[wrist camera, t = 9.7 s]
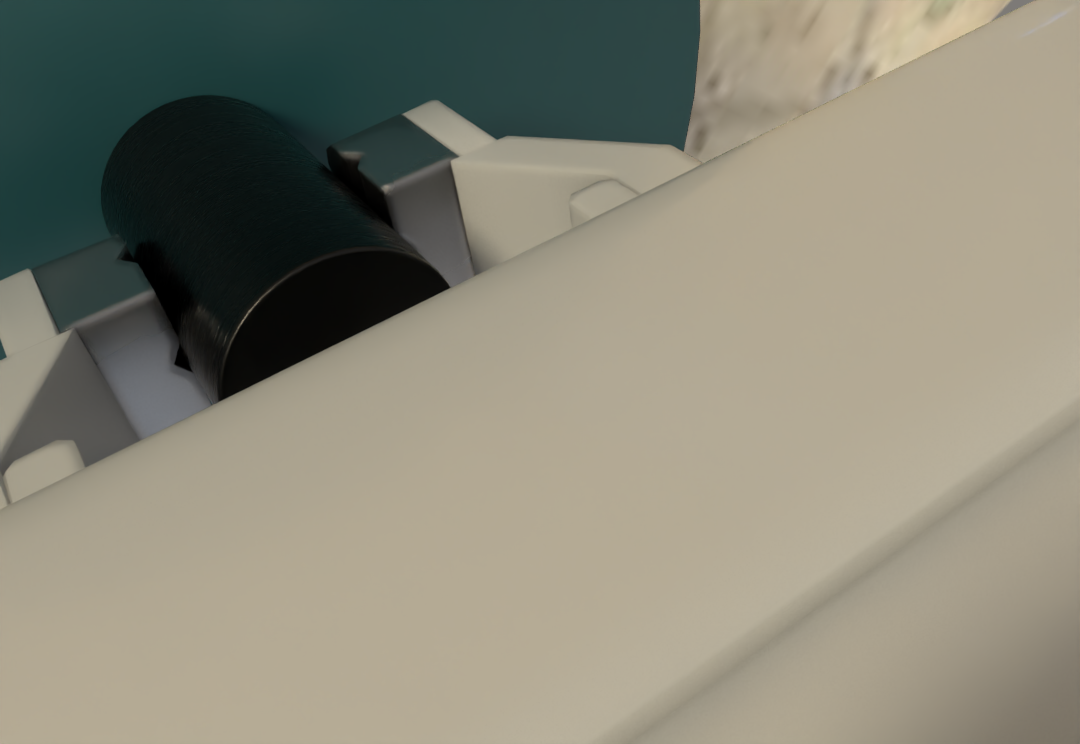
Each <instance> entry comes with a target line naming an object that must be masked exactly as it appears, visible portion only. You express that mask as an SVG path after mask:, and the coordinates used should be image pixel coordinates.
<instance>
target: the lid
mask: <svg viewBox="0 0 1080 744" xmlns="http://www.w3.org/2000/svg"><path fill="white" fill-rule="evenodd" d="M699 39H700V0H0V280H3V279H5V278H7V277H9V276H11V275H14V274H16V273H18V272H20V271H22V270H25V269H27V268H28V269H30V270H31V271H32V268H33V267H35V266H38V265H40V264H43V263H45V262H48V261H50V260H53V259H55V258H58V257H60V256H63V255H66V254H68V253H71V252H73V251H76V250H78V249H81V248H83V247H86V246H88V245H91V244H93V243H96V242H98V241H101V240H103V239H106V238H108V237H111V236H113V235H116V234H119V235H120V236H121V238H122V239H123V241H124V242H125V244H126V246H127V248H128V250H129V252H130V253H131V255H132V257H133V259H134V261H135V263H138V265H139V266H140V268H141V270H142V272H143V273H144V275H145V277H146V278H147V280H148V282H149V283H150V285H151V287H152V288H153V290H154V292H155V294H156V296H157V297H158V299H159V301H160V303H161V305H162V307H163V309H164V311H165V313H166V315H167V317H168V319H169V321H170V323H171V325H172V327H173V329H174V330H175V332H176V334H177V336H178V339H179V343H180V344H179V350H180V352H181V353H182V355H183V357H184V358H185V360H186V362H187V363H188V365H189V366H190V368H191V370H192V371H193V373H194V375H195V376H196V378H197V380H198V381H199V383H200V385H201V386H202V388H203V390H204V391H205V393H206V395H207V397H208V399H209V401H210V403H211V405H214V404H216V403H218V402H220V401H222V400H224V399H226V398H228V397H230V396H232V395H234V394H236V393H238V392H240V391H242V390H244V389H246V388H248V387H250V386H252V385H254V384H256V383H258V382H260V381H262V380H264V379H266V378H268V377H271V376H273V375H275V374H277V373H279V372H281V371H283V370H285V369H287V368H289V367H291V366H293V365H295V364H297V363H299V362H301V361H303V360H305V359H307V358H309V357H311V356H313V355H315V354H317V353H319V352H321V351H323V350H325V349H327V348H329V347H332V346H334V345H336V344H338V343H340V342H342V341H344V340H346V339H348V338H350V337H352V336H354V335H356V334H358V333H360V332H362V331H364V330H366V329H368V328H370V327H372V326H374V325H376V324H378V323H380V322H382V321H384V320H386V319H388V318H391V317H393V316H395V315H397V314H399V313H401V312H403V311H405V310H407V309H409V308H411V307H413V306H415V305H417V304H419V303H421V302H423V301H425V300H427V299H429V298H431V297H433V296H435V295H437V294H439V293H441V292H443V291H445V290H447V289H450V288H451V287H450V285H449V284H448V282H447V281H446V279H445V278H444V277H443V276H442V275H441V273H440V272H439V271H438V270H437V269H436V268H435V267H434V266H432V265H431V264H430V263H429V262H428V261H427V260H426V259H425V258H424V257H423V256H422V255H421V254H420V253H418V252H417V251H416V250H415V249H414V248H413V247H412V246H411V245H410V244H409V243H408V242H407V241H406V240H404V239H403V238H402V237H401V236H400V235H399V234H398V233H397V232H396V231H395V230H394V229H393V228H391V227H390V226H389V225H388V224H387V223H386V222H385V221H384V220H383V219H382V218H381V217H380V216H379V215H377V214H376V213H375V212H374V211H373V210H372V209H371V208H370V207H369V206H368V205H367V204H366V203H365V202H363V201H362V200H361V199H360V198H359V197H358V196H357V195H356V194H355V193H354V192H353V191H352V190H350V189H349V188H348V187H347V186H346V185H345V184H344V183H343V182H342V181H341V180H340V179H339V178H338V177H336V176H335V175H334V174H333V173H332V172H331V170H330V167H329V164H328V158H327V152H326V149H327V148H328V147H329V146H330V145H331V144H333V143H335V142H338V141H340V140H342V139H344V138H347V137H349V136H351V135H353V134H356V133H358V132H360V131H362V130H365V129H367V128H369V127H371V126H374V125H376V124H378V123H380V122H383V121H385V120H387V119H389V118H391V117H394V116H396V115H398V114H403V113H405V112H407V111H409V110H412V109H414V108H416V107H418V106H420V105H422V104H424V103H426V102H428V101H430V100H438V101H440V102H441V103H443V104H444V105H446V106H447V107H449V108H450V109H452V110H453V111H455V112H456V113H458V114H459V115H461V116H462V117H464V118H465V119H467V120H468V121H470V122H471V123H473V124H474V125H476V126H477V127H479V128H480V129H482V130H483V131H485V132H486V133H488V134H489V135H491V136H492V137H494V138H495V139H497V140H499V139H501V138H503V137H506V136H523V137H540V138H558V139H576V140H594V141H612V142H630V143H648V144H666V145H672V146H674V147H676V148H677V149H679V150H681V151H683V152H684V147H685V142H686V137H687V131H688V126H689V121H690V116H691V110H692V105H693V100H694V93H695V82H696V71H697V61H698V50H699ZM4 358H7V356H6V353H5V350H4V348H3V345H2V342H1V339H0V360H2V359H4Z"/></svg>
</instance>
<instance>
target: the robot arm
mask: <svg viewBox="0 0 1080 744" xmlns="http://www.w3.org/2000/svg"><path fill="white" fill-rule="evenodd" d="M326 152H327V158H328V164H329V167H330V170H331V172H332V173H333V174H334V175H335V176H336V177H338V178H339V179H340V180H341V181H342V182H343V183H344V184H345V185H346V186H347V187H348V188H349V189H350V190H352V191H353V192H354V193H355V194H356V195H357V196H358V197H359V198H360V199H361V200H362V201H363V202H365V203H366V204H367V205H368V206H369V207H370V208H371V209H372V210H373V211H374V212H375V213H376V214H377V215H379V216H380V217H381V218H382V219H383V220H384V221H385V222H386V223H387V224H388V225H389V226H390V227H391V228H393V229H394V230H395V231H396V232H397V233H398V234H399V235H400V236H401V237H402V238H403V239H404V240H406V241H407V242H408V243H409V244H410V245H411V246H412V247H413V248H414V249H415V250H416V251H417V252H418V253H420V254H421V255H422V256H423V257H424V258H425V259H426V260H427V261H428V262H429V263H430V264H431V265H432V266H434V267H435V268H436V269H437V270H438V271H439V272H440V273H441V275H442V276H443V277H444V278H445V279H446V281H447V282H448V284H449V285H450V287H451V288H450V289H447V290H445V291H443V292H441V293H439V294H437V295H435V296H433V297H431V298H429V299H427V300H425V301H423V302H421V303H419V304H417V305H415V306H413V307H411V308H409V309H407V310H405V311H403V312H401V313H399V314H397V315H395V316H393V317H391V318H388V319H386V320H384V321H382V322H380V323H378V324H376V325H374V326H372V327H370V328H368V329H366V330H364V331H362V332H360V333H358V334H356V335H354V336H352V337H350V338H348V339H346V340H344V341H342V342H340V343H338V344H336V345H334V346H332V347H329V348H327V349H325V350H323V351H321V352H319V353H317V354H315V355H313V356H311V357H309V358H307V359H305V360H303V361H301V362H299V363H297V364H295V365H293V366H291V367H289V368H287V369H285V370H283V371H281V372H279V373H277V374H275V375H273V376H271V377H268V378H266V379H264V380H262V381H260V382H258V383H256V384H254V385H252V386H250V387H248V388H246V389H244V390H242V391H240V392H238V393H236V394H234V395H232V396H230V397H228V398H226V399H224V400H222V401H220V402H218V403H216V404H214V405H211V403H210V401H209V399H208V397H207V395H206V393H205V391H204V390H203V388H202V386H201V385H200V383H199V381H198V380H197V378H196V376H195V375H194V373H193V371H192V370H191V368H190V366H189V365H188V363H187V362H186V360H185V358H184V357H183V355H182V353H181V352H180V350H179V344H180V343H179V339H178V336H177V334H176V332H175V330H174V329H173V327H172V325H171V323H170V321H169V319H168V317H167V315H166V313H165V311H164V309H163V307H162V305H161V303H160V301H159V299H158V297H157V296H156V294H155V292H154V290H153V288H152V287H151V285H150V283H149V282H148V280H147V278H146V277H145V275H144V273H143V272H142V270H141V268H140V266H139V265H138V263H135V261H134V259H133V257H132V255H131V253H130V252H129V250H128V248H127V246H126V244H125V242H124V241H123V239H122V238H121V236H120V235H119V234H116V235H113V236H111V237H108V238H106V239H103V240H101V241H98V242H96V243H93V244H91V245H88V246H86V247H83V248H81V249H78V250H76V251H73V252H71V253H68V254H66V255H63V256H60V257H58V258H55V259H53V260H50V261H48V262H45V263H43V264H40V265H38V266H35V267H33V268H32V271H31V270H30V269H28V268H27V269H25V270H22V271H20V272H18V273H16V274H14V275H11V276H9V277H7V278H5V279H3V280H0V339H1V342H2V345H3V348H4V350H5V353H6V356H7V358H4V359H2V360H0V744H1080V0H1034V1H1032V2H1030V3H1028V4H1026V5H1024V6H1022V7H1020V8H1018V9H1016V10H1014V11H1012V12H1010V13H1008V14H1006V15H1004V16H1002V17H1000V18H998V19H996V20H994V21H992V22H989V23H987V24H985V25H983V26H981V27H979V28H977V29H975V30H973V31H971V32H969V33H967V34H965V35H963V36H961V37H959V38H957V39H955V40H953V41H951V42H949V43H947V44H945V45H943V46H941V47H939V48H937V49H935V50H933V51H931V52H929V53H927V54H925V55H922V56H920V57H918V58H916V59H914V60H912V61H910V62H908V63H906V64H904V65H902V66H900V67H898V68H896V69H894V70H892V71H890V72H888V73H886V74H884V75H882V76H880V77H878V78H876V79H874V80H872V81H870V82H868V83H866V84H864V85H862V86H860V87H858V88H856V89H854V90H852V91H849V92H847V93H845V94H843V95H841V96H839V97H837V98H835V99H833V100H831V101H829V102H827V103H825V104H823V105H821V106H819V107H817V108H815V109H813V110H811V111H809V112H807V113H805V114H803V115H801V116H799V117H797V118H795V119H793V120H791V121H789V122H787V123H785V124H783V125H781V126H778V127H776V128H774V129H772V130H770V131H768V132H766V133H764V134H762V135H760V136H758V137H756V138H754V139H752V140H750V141H748V142H746V143H744V144H742V145H740V146H738V147H736V148H734V149H732V150H730V151H728V152H726V153H724V154H722V155H720V156H718V157H716V158H714V159H712V160H710V161H707V162H705V163H702V162H701V161H699V160H697V159H695V158H693V157H692V156H690V155H688V154H686V153H684V152H683V151H681V150H679V149H677V148H676V147H674V146H672V145H666V144H648V143H630V142H612V141H594V140H576V139H558V138H540V137H523V136H506V137H503V138H501V139H499V140H497V139H495V138H494V137H492V136H491V135H489V134H488V133H486V132H485V131H483V130H482V129H480V128H479V127H477V126H476V125H474V124H473V123H471V122H470V121H468V120H467V119H465V118H464V117H462V116H461V115H459V114H458V113H456V112H455V111H453V110H452V109H450V108H449V107H447V106H446V105H444V104H443V103H441V102H440V101H438V100H430V101H428V102H426V103H424V104H422V105H420V106H418V107H416V108H414V109H412V110H409V111H407V112H405V113H403V114H398V115H396V116H394V117H391V118H389V119H387V120H385V121H383V122H380V123H378V124H376V125H374V126H371V127H369V128H367V129H365V130H362V131H360V132H358V133H356V134H353V135H351V136H349V137H347V138H344V139H342V140H340V141H338V142H335V143H333V144H331V145H330V146H329V147H328V148H327V149H326Z"/></svg>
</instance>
